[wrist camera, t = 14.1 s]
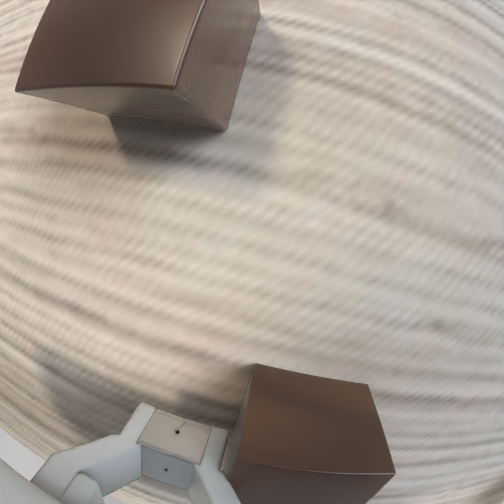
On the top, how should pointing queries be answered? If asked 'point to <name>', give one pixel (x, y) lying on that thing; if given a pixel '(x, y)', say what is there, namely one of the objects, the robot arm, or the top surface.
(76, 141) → the top surface
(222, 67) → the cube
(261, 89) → the top surface
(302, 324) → the top surface
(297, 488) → the middle cube
